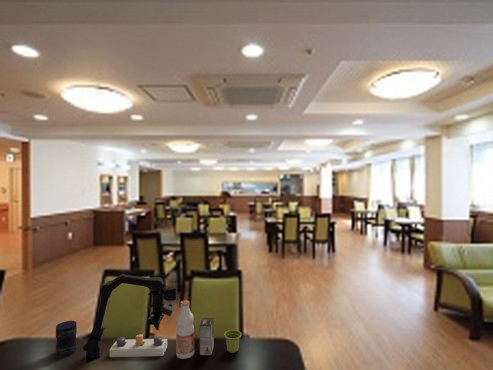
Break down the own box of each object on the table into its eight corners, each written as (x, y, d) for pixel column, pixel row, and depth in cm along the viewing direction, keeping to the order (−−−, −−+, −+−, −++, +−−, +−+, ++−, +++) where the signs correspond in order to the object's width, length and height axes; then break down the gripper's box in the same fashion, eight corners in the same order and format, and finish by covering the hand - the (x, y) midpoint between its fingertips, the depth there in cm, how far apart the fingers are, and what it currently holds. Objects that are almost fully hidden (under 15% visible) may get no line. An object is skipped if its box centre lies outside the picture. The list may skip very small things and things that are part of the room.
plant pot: (242, 345, 168) (242, 330, 168) (240, 355, 159) (240, 338, 159) (225, 344, 169) (225, 329, 169) (222, 354, 160) (222, 338, 160)
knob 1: (115, 347, 160) (115, 341, 160) (118, 343, 165) (118, 337, 165) (123, 347, 161) (123, 341, 161) (126, 343, 165) (126, 337, 165)
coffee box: (202, 346, 168) (202, 317, 168) (213, 346, 168) (213, 317, 168) (199, 355, 159) (199, 325, 159) (211, 355, 159) (211, 325, 159)
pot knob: (134, 347, 161) (134, 337, 161) (137, 343, 165) (137, 334, 165) (141, 346, 161) (141, 337, 161) (144, 343, 165) (144, 333, 165)
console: (109, 357, 158) (109, 349, 158) (117, 346, 168) (117, 339, 168) (163, 355, 158) (163, 348, 158) (167, 345, 168) (167, 338, 168)
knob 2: (152, 346, 161) (152, 340, 161) (155, 342, 165) (154, 336, 165) (160, 346, 161) (160, 340, 161) (163, 342, 166) (162, 336, 166)
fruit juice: (173, 352, 161) (173, 301, 161) (190, 347, 166) (189, 297, 166) (180, 361, 153) (179, 306, 153) (197, 355, 159) (196, 302, 159)
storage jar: (60, 359, 156) (59, 331, 156) (52, 353, 162) (52, 325, 162) (80, 351, 164) (80, 323, 164) (72, 345, 170) (72, 319, 170)
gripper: (168, 308, 154) (168, 338, 154) (175, 295, 173) (176, 322, 173) (146, 308, 154) (146, 339, 154) (156, 295, 172) (156, 322, 172)
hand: (157, 330), depth 163 cm, fingers closed
